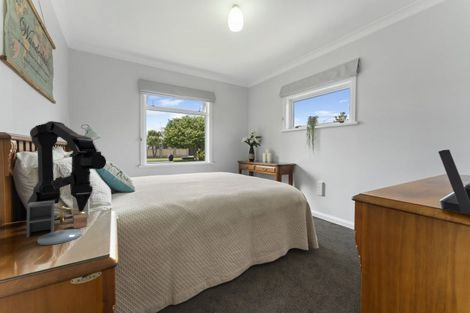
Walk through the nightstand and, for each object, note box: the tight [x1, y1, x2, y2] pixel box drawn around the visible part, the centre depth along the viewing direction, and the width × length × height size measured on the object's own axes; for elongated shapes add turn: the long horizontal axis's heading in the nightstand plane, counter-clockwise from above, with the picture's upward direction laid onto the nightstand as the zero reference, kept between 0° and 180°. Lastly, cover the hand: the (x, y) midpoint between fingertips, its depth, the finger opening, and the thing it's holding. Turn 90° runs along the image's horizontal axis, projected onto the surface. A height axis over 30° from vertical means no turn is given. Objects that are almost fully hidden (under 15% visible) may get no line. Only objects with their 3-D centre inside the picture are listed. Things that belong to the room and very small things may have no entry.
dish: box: [37, 228, 83, 246], centre depth 67 cm, size 11×11×1 cm
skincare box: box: [72, 196, 91, 218], centre depth 93 cm, size 8×6×15 cm
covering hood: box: [26, 200, 55, 223], centre depth 72 cm, size 7×7×5 cm
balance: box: [54, 205, 86, 227], centre depth 83 cm, size 16×5×8 cm, turn 130°
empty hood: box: [26, 215, 55, 238], centre depth 72 cm, size 7×7×5 cm
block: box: [72, 214, 88, 229], centre depth 79 cm, size 4×4×4 cm
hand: (80, 209), depth 79 cm, fingers open, 9 cm apart
